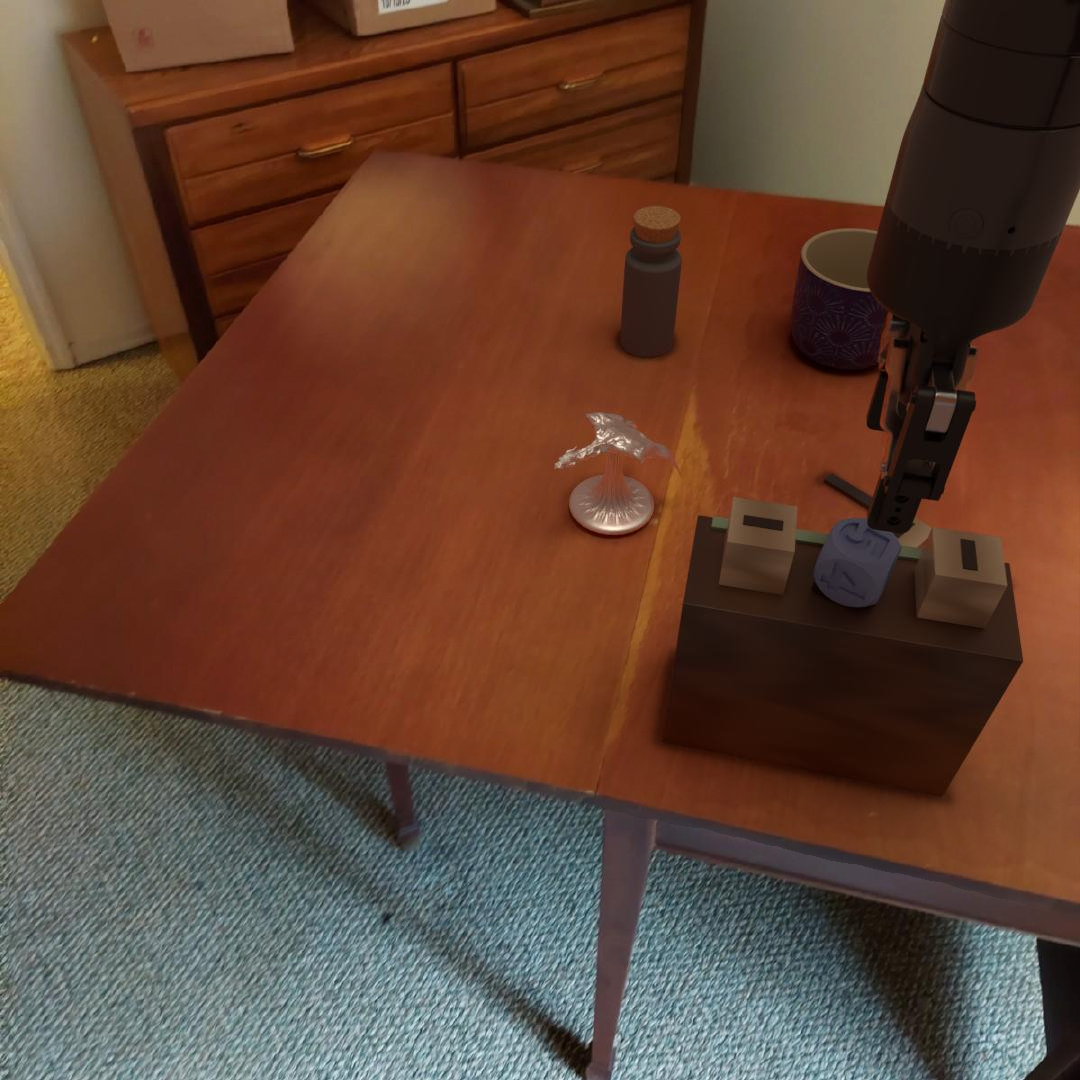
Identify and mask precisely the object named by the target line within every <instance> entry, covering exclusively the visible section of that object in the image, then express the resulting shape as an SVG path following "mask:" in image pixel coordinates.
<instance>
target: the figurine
mask: <svg viewBox="0 0 1080 1080" xmlns="http://www.w3.org/2000/svg"><path fill="white" fill-rule="evenodd" d="M584 418H585V419H587V420H588V421H589V422H590V424H591V425H592V428H593V441H592V443H589V444H587V445H586V446H584V447H583V448H579V449H577V446H578V445H576V446H575V447H573V448H572V449H567V450H566V451H565V453H564V454H563V455H560V456H559V457H558V460H559V461H557V462H555V463H554V464H553V465H554V467H553V469H554V470H555V469H556V470H558V471H559V470H563V469H564V468H565V469H566V468H572V467H573V468H574V467H575V466H576V464H579V463H581V462H586V461H588V460H589V459H590V458H596V457H597V456H598V455H600V454H601V453H602V455H603V456H605V455H606V463H605V468H604V471H603V474H597V475H593V476H591V477H588V478H585V479H584V480H582V481H581V482H580V483H578V484H577V485H575V487H574V489H572V491H571V494H570V496H569V499H568V500H569V501H568V508H569V511H570V513H571V516H572V518H573V519H574V520H575V521H576V522H577V523H578V524H579V525H581V527H583V528H584V529H585V528H586V529H587V530H588V531H591V532H594V533H597V534H601V535H606V536H607V535H608V536H609V535H612V536H619V535H625V534H629V533H632V532H634V531H637V530H639V529H641V528H642V527H644V526H645V525H646V524H647V523H648V522H649V521H650V520H651V518H652V516H653V514H654V511H655V501H654V498H653V495H652V493H651V492H650V490H649V489H648V488H647V487H646V485H644V484H643V483H641V482H640V481H639V480H636V479H635V478H632V477H631V476H630V477H629V476H626V475H624V471H623V457H629V458H634V459H636V461H638V462H640V465H643V464H644V462H645V461H646V460H648V459H649V460H650V459H651V460H652V459H657V460H659V461H663V462H664V461H668V462H670V464H671V465H672V466H673V467H674V468H675V469H676V471H677V472H678V475H679V476H680V477H681V478H683V475H682V473H681V471H680V468H679V465H678V463H677V461H676V458H675V455H674V453H673V452H672V451H671V450H670V449H669V448H668V446H666V445H664V444H661V443H658V442H654V441H653V440H652V439H650V438H647V436H646V435H645V434H644V433H642V432H641V431H640V430H638V424H637V423H636V421H635V420H631V419H625V418H624V417H623V416H621V415H620V414H617V413H612V412H611V413H610V412H602V411H596V412H590V413H586V414H584ZM576 449H577V450H576Z"/></svg>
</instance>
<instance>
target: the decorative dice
mask: <svg viewBox="0 0 1080 1080" xmlns="http://www.w3.org/2000/svg"><path fill="white" fill-rule="evenodd" d="M828 534H829V535H828V537H827V539H826V541H825V543H824V545H823V548H822V550H821V552H820V555H819V557H818V560H817V562H816V565H815V568H814V572H813V578H814V580H815V582H816V584H817V586H818V587H819V589H820V590H821V591H822V592H823V593H824V594H825V595H826V596H827V597H828V598H830V599H831V600H833V601H835V602H837V603H839V604H841V605H845V606H849V607H867V606H871V605H874V604H876V603H877V602H878V600H879V598H880V596H881V595H882V593H883V591H884V589H885V586H886V584H887V582H888V580H889V578H890V576H891V574H892V571H893V569H894V567H895V564H896V562H897V560H898V557H899V554H900V552H901V548H902V547H901V544H900V542H899V541H898V539H897V538H896V536H895V535H894V534H893V533H892V532H887V531H880V530H874V529H871V528H870V527H869V526H868V525H867V517H866V518H865V517H849V518H844V519H841V520H839V521H836V522H835V524H834V526H833V527H832V528H831V531H829V533H828Z"/></svg>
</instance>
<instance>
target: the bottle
mask: <svg viewBox="0 0 1080 1080" xmlns="http://www.w3.org/2000/svg"><path fill="white" fill-rule="evenodd" d="M632 217H633V225H634V227H633V228H632V229H631V230H630V234H629V243H630V245H631V248H629V249H628V250H627V252H626V253H625V257H624V258H625V259H624V270H623V283H622V285H623V286H622V300H621V301H622V303H621V317H620V319H621V320H620V335H619V336H620V340H619V341H620V346H621V347H622V349H623V350H624V351H625V352H627V354H629V355H632V356H633V357H635V356H636V357H638V358H647V359H650V358H652V359H653V358H656V357H661V356H663V355H665V354H667V353H668V352H669V351H670V350H671V349H672V347H673V343H674V335H675V327H676V318H677V311H678V302H679V301H678V300H679V291H680V290H679V289H680V283H681V282H680V280H681V273H682V262H683V261H682V260H683V258H682V255H681V253H680V252H679V251H678V248H679V247H680V244H681V240H682V239H681V237H682V234H681V231H680V230H679V227H680V224H681V219H682V217H681V215H680V214H679V212H678V211H677V210H675V209H674V208H671V207H668V206H661V205H648V206H644V207H641V208H640V209H637V210H636V211H635V212H634V214H633V216H632Z"/></svg>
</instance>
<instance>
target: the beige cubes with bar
mask: <svg viewBox="0 0 1080 1080" xmlns="http://www.w3.org/2000/svg"><path fill="white" fill-rule="evenodd" d="M823 483H824V484H826V485H827V486H829V487H831V488H832V489H834V490H835V491H837V492H839V493H840V494H842V495H844V496H845V497H847V498H849V499H850V500H852V501H853V502H855V503H857V504H858V505H860V506H861V507H863V508H864V509H866V510H868V509H869V506H870V503H871V500H872V497H873V496H871V495H869V494H868V493H866V492H864V491H863V490H861V489H860V488H858V487H856V486H854V485H853V484H851V483H849V482H848V481H846V480H845V479H843V478H842V477H839V476H838V475H836V474H835V473H831V474H829V475H827V476H826V477H825V478H824V479H823ZM932 527H933V526H930V525H929V524H927V523H925V522H924V521H922V520H920V519H919V518H917V517H915V518H914V521H913V523H912V526H911V529H910V530H909V531H908V532H906V533H893V532H892V533H893V534H894V535H895V536H896V538H897V539H898V541H899V542H900V544H901V545H903V546H910V547H916V548H924V545H925V543H926V541H927V538H928V536H929V533H930V531H931V528H932Z"/></svg>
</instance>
